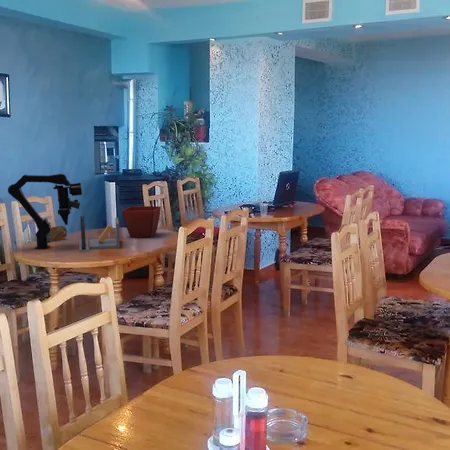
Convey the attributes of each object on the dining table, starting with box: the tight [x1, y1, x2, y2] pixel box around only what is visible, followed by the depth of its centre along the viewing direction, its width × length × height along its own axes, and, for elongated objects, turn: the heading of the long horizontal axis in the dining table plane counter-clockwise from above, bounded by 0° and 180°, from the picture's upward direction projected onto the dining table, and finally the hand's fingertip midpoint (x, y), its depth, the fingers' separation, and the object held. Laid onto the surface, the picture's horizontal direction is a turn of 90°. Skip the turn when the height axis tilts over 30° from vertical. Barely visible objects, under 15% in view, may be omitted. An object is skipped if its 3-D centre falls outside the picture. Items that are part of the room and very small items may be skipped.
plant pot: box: [121, 205, 162, 238], centre depth 367 cm, size 19×19×17 cm
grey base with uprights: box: [89, 217, 121, 250], centre depth 339 cm, size 16×22×14 cm
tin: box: [46, 225, 68, 243], centre depth 354 cm, size 15×3×8 cm, turn 143°
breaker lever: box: [98, 223, 114, 243], centre depth 339 cm, size 2×5×11 cm
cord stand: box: [78, 214, 90, 253], centre depth 337 cm, size 5×32×15 cm, turn 14°
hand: (66, 224), depth 334 cm, fingers closed
